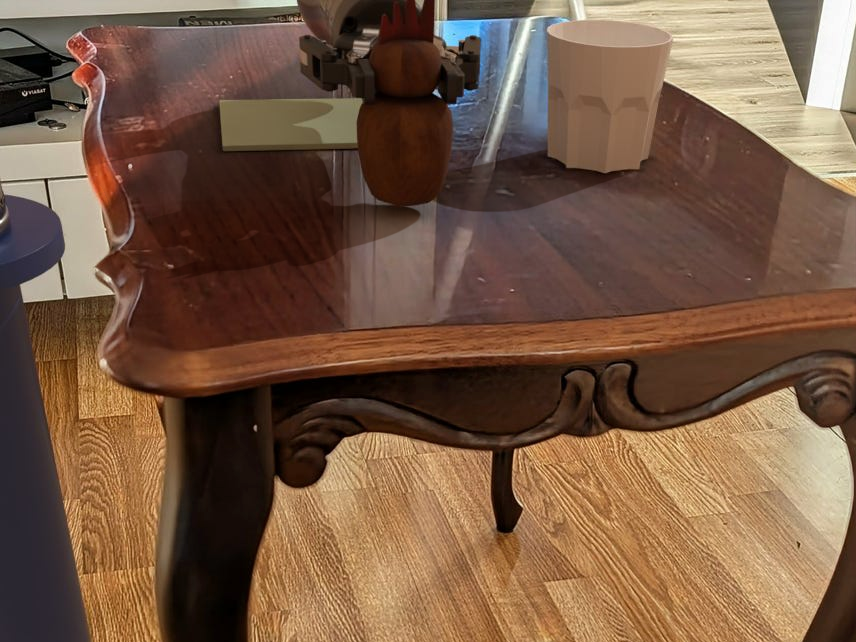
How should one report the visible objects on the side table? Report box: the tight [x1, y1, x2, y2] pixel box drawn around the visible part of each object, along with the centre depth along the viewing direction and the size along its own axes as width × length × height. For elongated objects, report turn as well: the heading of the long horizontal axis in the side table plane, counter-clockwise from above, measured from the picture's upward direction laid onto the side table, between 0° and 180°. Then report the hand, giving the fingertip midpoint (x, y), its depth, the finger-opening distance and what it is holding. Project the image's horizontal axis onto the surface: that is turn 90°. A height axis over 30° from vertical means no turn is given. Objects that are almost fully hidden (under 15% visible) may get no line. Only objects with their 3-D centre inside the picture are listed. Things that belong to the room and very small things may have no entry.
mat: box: [218, 97, 363, 152], centre depth 101 cm, size 14×14×1 cm
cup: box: [546, 19, 674, 174], centre depth 94 cm, size 10×10×10 cm
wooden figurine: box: [357, 0, 454, 207], centre depth 80 cm, size 7×6×15 cm
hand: (411, 89), depth 78 cm, fingers closed on wooden figurine, 5 cm apart
